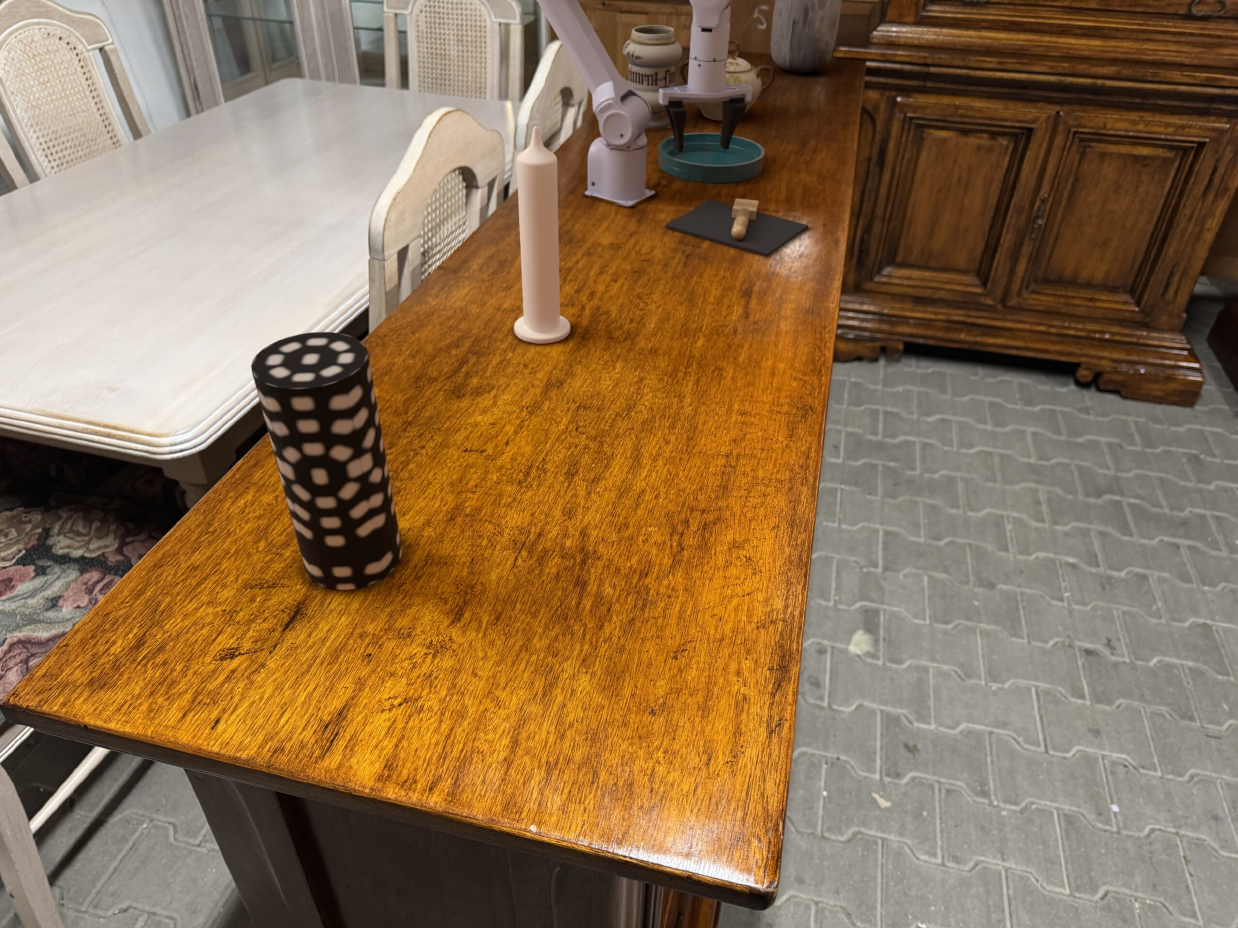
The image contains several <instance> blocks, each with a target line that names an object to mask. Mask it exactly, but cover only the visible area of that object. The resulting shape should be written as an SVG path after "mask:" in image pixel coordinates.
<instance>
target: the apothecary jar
mask: <svg viewBox="0 0 1238 928" xmlns="http://www.w3.org/2000/svg"><path fill="white" fill-rule="evenodd" d="M675 33H676V32H675V29H674V28H673V27H670V26H667V25H659V24H658V25H657V24H649V25H647V24H646V25H639V26H635V27H633V28H632V29H631V35H630V37H629V39H628V40H627V41H626V42H625V43H624V45H623V47H622V53H623V57H624V58H625V59H626V60H627V61H628V68H627V69H628V70H627V71H628V73H627V74H628V75H627V81H628V82H630V83H631V85H632V86H633V88H634V90H635V91H636V92H637V93H638V94H639V95H641V96H642V97H644V98H645V99H646V100H647V102H648V103H649V105H650V108H651V113H652V116H651V121H650V123H649V125H648V127H647V128H646V129H660V128H661V129H662V128H666V129H668V128H669V129H670V128H672V127H671V123H670V120H669V117H668V116H666V115H665V114H663V113H662V112H666V110H665V107H664V105H662V104H660V102H659V89H662V88H672V87H678V85H676V63H677V62H678V61H680V59H681V58H682V55H683V48H682V46H681V44H680V43H679V42H678V40H676V35H675Z"/></svg>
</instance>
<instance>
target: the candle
mask: <svg viewBox="0 0 1238 928" xmlns="http://www.w3.org/2000/svg"><path fill="white" fill-rule="evenodd" d="M516 175H517V176H516V179H517V202H518V222H519V240H520V241H519V242H520V243H519V245H520V262H521V263H520V265H521V287H522V289H521V290H522V309H523V315H522V316H521V317H519V318H518V319H517V320H516V321H515V322H514V324H513V333H514V335H515V336H516V337H517V338H518V339H519V340H522V341H524V342H527V343H531V344H537V345H538V344H539V345H542V344H544V345H545V344H553V343H557V342H559V341H562V340H564V339H565V338H567V337H568V336H569V334H570V332H571V323H570V321H569V319H567V318H566V317H564V316H562V315H561V305H560V304H561V303H560V301H561V300H560V297H561V296H560V248H559V246H560V245H559V244H560V243H559V241H560V240H559V200H558V199H559V197H558V196H559V195H558V194H559V193H558V189H559V188H558V185H559V184H558V157H557V156H556V155H555V154H554V153H553V152H552V151H550V150H549V149H548V148H547V147H545V145H544V143H543V141H542V138H541V133H540V130H539V127H538V126H534V127H533V128H532V134H531V139H530V143H529V144H528V146H527V147H526V148H525V149H524V150H523V151H521V152H520V153H519V154H518V155H516Z"/></svg>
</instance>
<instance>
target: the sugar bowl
mask: <svg viewBox="0 0 1238 928" xmlns="http://www.w3.org/2000/svg"><path fill="white" fill-rule="evenodd" d="M729 45H734V46H735V50H734V52H732V53H730V52H728V57H727V68H726V80H725V84H730V85H749V86H750V87H752V88H753V89H752V99H751V101H744V102H745V103H746V104H747V108H746V111H745V113H746V112H747V111H748V110H749V109H750V108H751V107H752V106H753V104H754V103H756V102H757V101H758V100H759V99H760V98H761V97H762V95H763V94H764V92H766V90H767V89H769V88H770V86H771V85H772V84H773V82H774V80H775V71H774V69H773V68H772V67H771V66H770V65H769V64H764V65H758V66H756V67H755V65H753V64H752V63H750V62H748V61H747V60H746V59H744V58H741V57H739V53H740V49H741V48H740V44H739V42H738V41H737V40H735V39H729ZM687 66H689V59H686V60H685V61H683V63H681V65H680V68H679V74H680V77H681V79H682V81H683V82H684V85H688V77H686V75H685V69H686V67H687ZM763 71H766V72H768V74H769V79H768V81H767V82H766V83H765V84H764V86H762V79H761V75H760V73H762V72H763ZM696 104H697V106H698V107H699V109H700V112H701V114H702V115H703V116H704V118H707V119H710V120H713V121H719V122H720V121H722V101H709V102H696ZM745 113H744V114H743V116H744V115H745Z"/></svg>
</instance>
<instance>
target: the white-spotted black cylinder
mask: <svg viewBox="0 0 1238 928" xmlns="http://www.w3.org/2000/svg"><path fill="white" fill-rule="evenodd" d="M250 367H251V375H252V377H253V382H254V385H255V389H256V392H257V396H258V400H259V403H260V408H261V411H262V415H263V418H264V423H265V426H266V429H267V433H268V436H269V440H270V444H271V449H272V452H273V454H274V460H275V462H276V466H277V469H278V474H279V477H280V481H281V485H282V488H283V489H282V490H283V494H284V496H285V500H286V504H287V508H288V511H289V515H290V518H291V523H292V526H293V529H294V533H295V537H296V541H297V544H298V548H299V553H300V555H301V559H302V563H303V566H304V570H305V572H306V574H307V576H308V578H309V579H310V580H311V581H312V582H314V583H315V584H317V585H318V586H321V587H323V588H325V589H331V590H339V591H340V590H342V591H348V590H356V589H360V588H364V587H368V586H370V585H373V584H376V583H377V582H379V581H381V580H383V579H385V577H387V576H388V575H390V574H391V573H392V572H393V571H394V570H395V568H397V566H398V564H399V563H400V561H401V558H402V554H403V546H402V541H401V534H400V529H399V523H398V517H397V512H396V506H395V500H394V494H393V490H392V483H391V476H390V472H389V465H388V461H387V454H386V447H385V441H384V437H383V431H382V426H381V420H380V414H379V409H378V402H377V396H376V391H375V386H374V385H375V384H374V378H373V372H372V367H371V361H370V356H369V352H368V348H367V346H366V344H365V343H363V341H361V340H360V339H358V338H356V337H354V336H352V335H349V334H346V333H345V334H344V333H340V332H333V331H314V332H313V331H312V332H306V333H298V334H294V335H289V336H287V337H285V338H281V339H278V340H276V341H274V342H272V343H270V344H268V345H267V346H266V347H264V348H262V349H261V350H260V351H259V352H258V353H257V354H256V355H255V356H254V358H253V359H252V361H251V366H250Z"/></svg>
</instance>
